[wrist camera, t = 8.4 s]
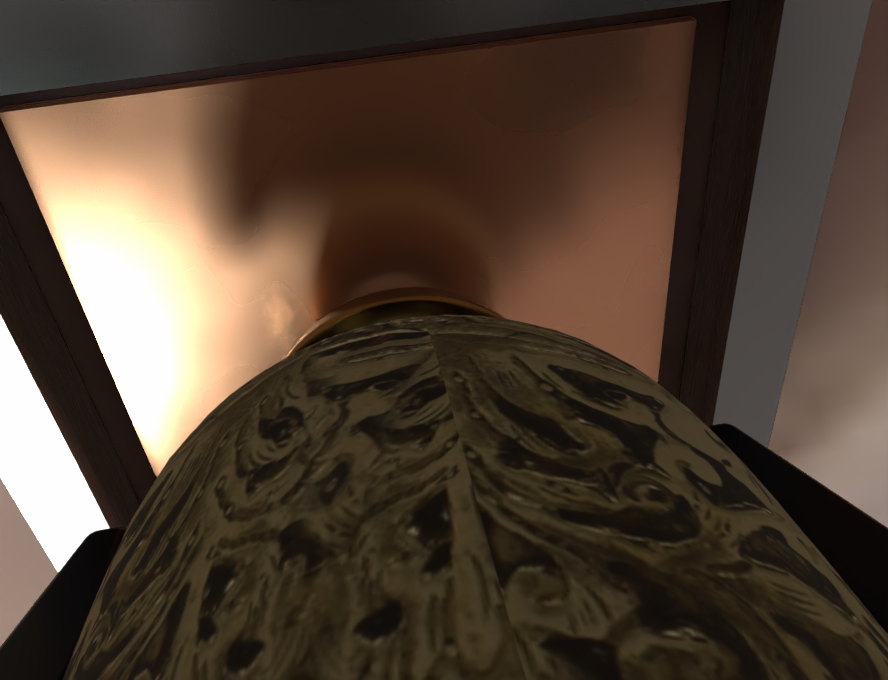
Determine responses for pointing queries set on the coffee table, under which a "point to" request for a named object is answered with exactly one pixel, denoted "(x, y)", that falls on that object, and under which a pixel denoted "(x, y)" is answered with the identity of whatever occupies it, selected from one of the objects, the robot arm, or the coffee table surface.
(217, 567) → the bronze ornate bell
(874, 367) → the coffee table surface
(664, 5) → the grey double frame
